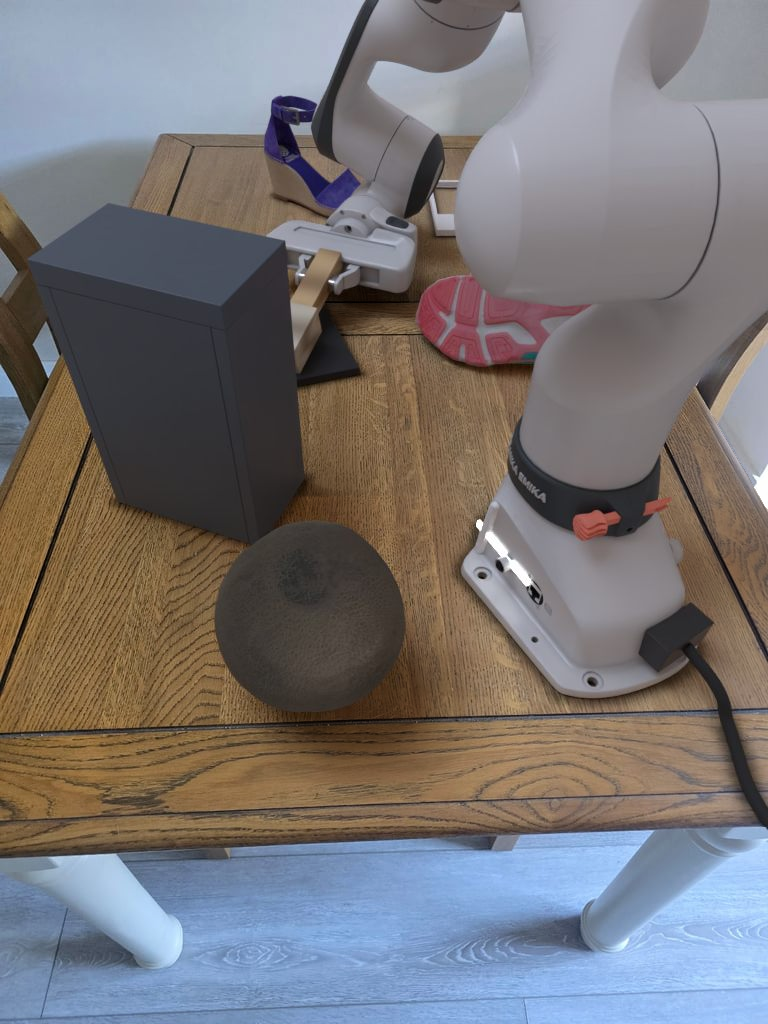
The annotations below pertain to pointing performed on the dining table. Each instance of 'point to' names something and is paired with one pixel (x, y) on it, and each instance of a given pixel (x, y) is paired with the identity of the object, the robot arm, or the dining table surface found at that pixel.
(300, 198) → the sandal
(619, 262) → the robot arm
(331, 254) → the wooden mallet
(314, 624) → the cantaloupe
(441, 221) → the photo frame
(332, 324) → the shoe mat
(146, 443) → the tall grey cabinet
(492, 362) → the athletic shoe
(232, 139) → the dining table surface
